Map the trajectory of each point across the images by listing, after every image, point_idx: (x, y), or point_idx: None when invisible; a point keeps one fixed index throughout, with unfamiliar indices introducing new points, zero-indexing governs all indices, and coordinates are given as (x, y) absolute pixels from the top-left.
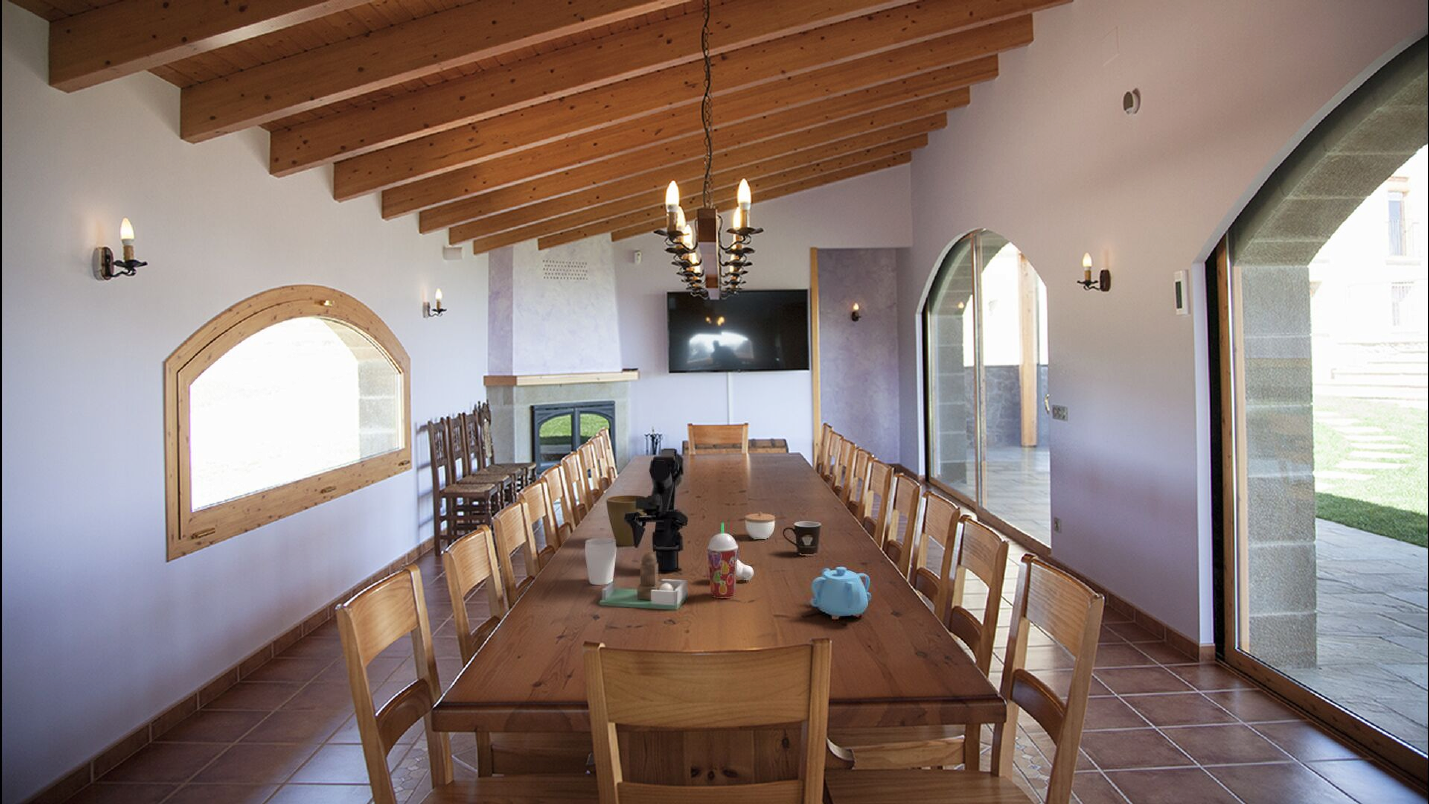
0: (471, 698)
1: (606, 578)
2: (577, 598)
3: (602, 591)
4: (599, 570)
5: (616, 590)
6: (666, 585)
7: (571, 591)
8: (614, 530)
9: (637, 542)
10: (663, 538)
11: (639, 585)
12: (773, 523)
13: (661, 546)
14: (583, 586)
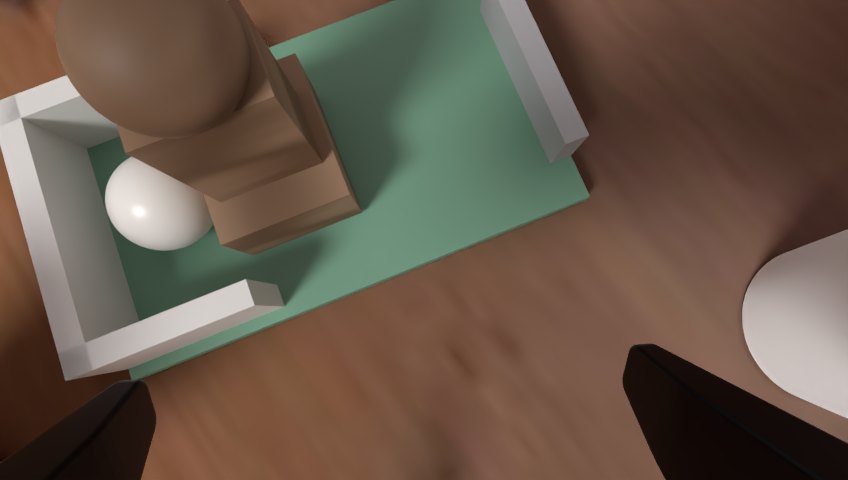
0: None
1: (765, 290)
2: (669, 4)
3: None
4: (838, 236)
5: (548, 170)
6: (121, 171)
7: (801, 76)
8: None
9: (670, 421)
10: (23, 464)
11: (305, 90)
12: None
13: (144, 384)
14: (826, 187)
